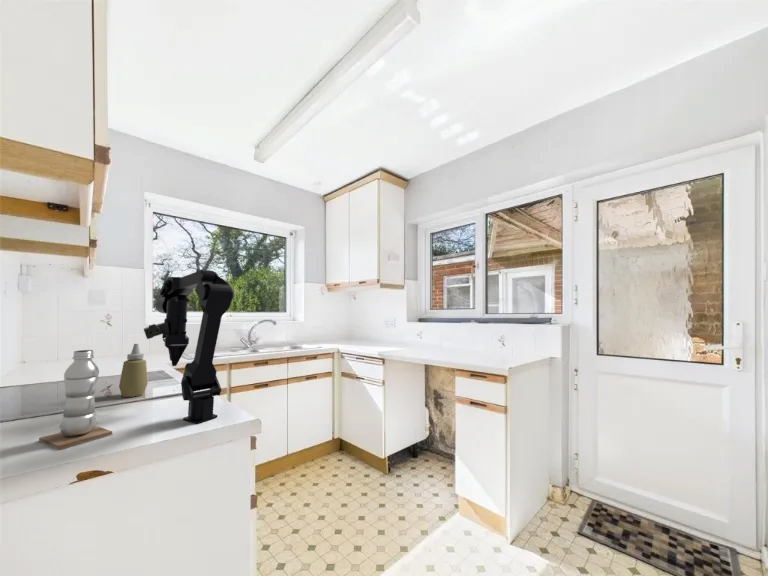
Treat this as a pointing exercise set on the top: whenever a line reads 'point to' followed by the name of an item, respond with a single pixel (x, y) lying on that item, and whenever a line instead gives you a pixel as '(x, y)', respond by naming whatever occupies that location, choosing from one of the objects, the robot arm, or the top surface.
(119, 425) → the top surface
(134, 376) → the squeeze bottle
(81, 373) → the plastic bottle
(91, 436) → the walnut board
